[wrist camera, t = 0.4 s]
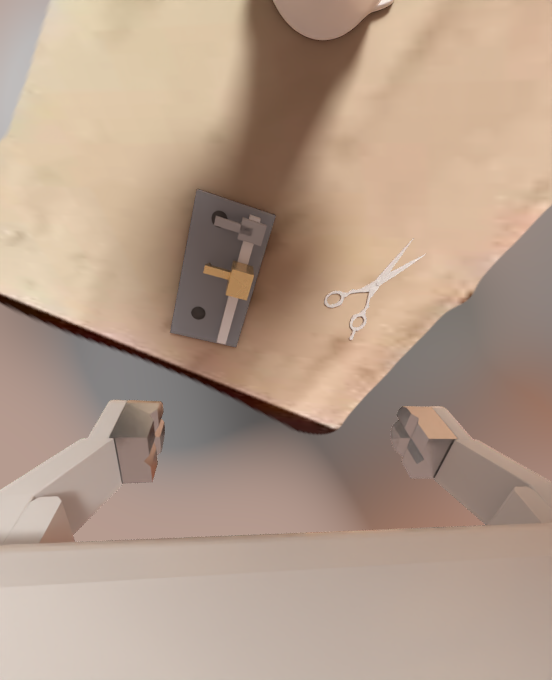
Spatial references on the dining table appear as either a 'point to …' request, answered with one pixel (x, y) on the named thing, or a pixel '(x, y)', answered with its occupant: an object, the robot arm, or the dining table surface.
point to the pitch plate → (220, 250)
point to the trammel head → (234, 278)
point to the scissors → (371, 289)
